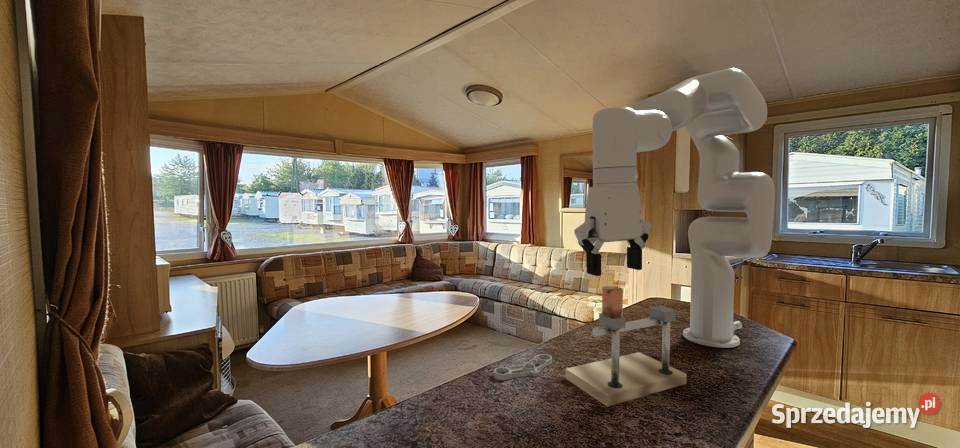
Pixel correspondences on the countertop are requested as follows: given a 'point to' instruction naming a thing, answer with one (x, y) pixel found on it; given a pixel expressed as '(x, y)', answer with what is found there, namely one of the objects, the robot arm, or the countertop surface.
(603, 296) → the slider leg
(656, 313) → the frame
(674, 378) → the board
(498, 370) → the bracket
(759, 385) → the countertop surface
